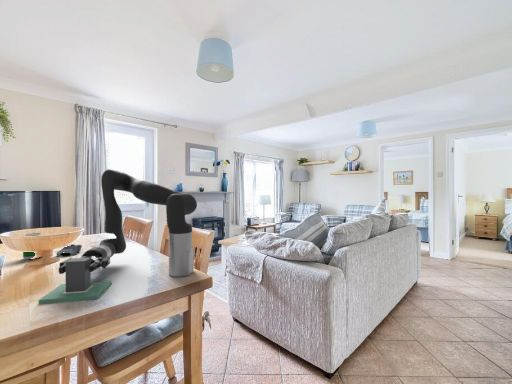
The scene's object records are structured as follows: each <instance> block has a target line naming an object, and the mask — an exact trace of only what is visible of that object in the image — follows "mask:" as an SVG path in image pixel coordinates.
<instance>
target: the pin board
mask: <svg viewBox="0 0 512 384" xmlns="http://www.w3.org/2000/svg"><path fill="white" fill-rule="evenodd" d="M112 284H113V281H111V280H106V281H92V282H91V286H90V287H89V288H88V289H87V290H86V291H80V292H66V283H62V284H59V286H57V287H56V288H54V289H52V290H51V291H50V292H48V293H46V294H45V295H43V296H42V297H41V298H39V299H38V305H39V304H40V305H42V304H52V303H55V304H56V303H64V302H78V301H89V300H91V301H92V300H98V299H99V298H100V297H101V296H102V295H103V294H104V293H105V292H106V291H107V290H108V289H109V288H110V287H111V286H112Z"/></svg>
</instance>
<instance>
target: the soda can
mask: <svg viewBox="0 0 512 384" xmlns="http://www.w3.org/2000/svg"><path fill="white" fill-rule="evenodd" d="M39 235H43V234H42V233H41V232H33V233H27V234H25V235H24V236H39ZM34 256H35V253H34V252H23V251H22V258H23V259H31V258H33V257H34Z"/></svg>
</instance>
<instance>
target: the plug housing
mask: <svg viewBox="0 0 512 384" xmlns="http://www.w3.org/2000/svg"><path fill="white" fill-rule="evenodd" d="M71 258H72V257H71ZM90 265H91V258H81V257H73V258H72V259H70V260H68V261H66V272H65V284H66V292H80V291H86V290H87V289H88V288H89V287H90V286H91V279H92V278H91V277H92V276H91V275H92V274H91V273H92V272H89V266H90Z"/></svg>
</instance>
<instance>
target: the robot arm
mask: <svg viewBox="0 0 512 384" xmlns="http://www.w3.org/2000/svg"><path fill="white" fill-rule="evenodd" d="M100 183H101V185H100V186H101V191H102V199H103V205H104V232H105V233H106V234H111V235H114V236H115V238H114V237H113V238H106V239H102V240H101V241H100V243H99V244H98V245H96V246H93V247H91V248H89V249H87V250H85V252H84V253H83V254H82V255H81V256H80V258H91V265H90V266H89V272H91V273H93V272H94V271H96V270H99V269H100V268H101V269H106V268H108V266H109V265H110V264H111V258H112V257H113V256H114V255H117V254H118V255H119V254H122V253H124V252H125V251H126V249H127V243H126V239H125V236H124V235H125V234H124V231H123V213H122V209H121V208H120V206H119V204H118V202H117V200H116V197H115V196H116V195H115V190H116V191H121V192H127V193H131V194H132V195H133V197H135V198H136V199H138V200H140V201H142V202H145V203H148V204H154V205H159V206H166V207H165V209H166V210H165V212H166V215H165V216H166V225H167V228H168V275H169V276H170V277H176V278H179V277H180V278H181V277H185V276H187V277H189V276H190V275H191V274H192V273H193V272H194V256H195V255H194V248H193V225H192V224H191V223H189V222H187V221H186V216H188V215H191V214H192V213H194V212H195V211H196V209H197V206H198V202H197V200H196V198H195V197H194V196H193V195H192V194H190V193H186V192H180V191H176V190H172V189H170V188H168V187H165V186H162V185H160V184H158V183H155V182H152V181H149V180H146V179H141V178H140V179H139V178H137V177H134V176H131V175H130V174H129V173H126V172H124V171H119V170H115V169H106V170H104V172H103V173H102V174H101V180H100ZM70 259H72V257H69V258H67V259H65V260H63V261H60V262H59V267H58V274H59V275H62V274H66V261H68V260H70Z"/></svg>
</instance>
